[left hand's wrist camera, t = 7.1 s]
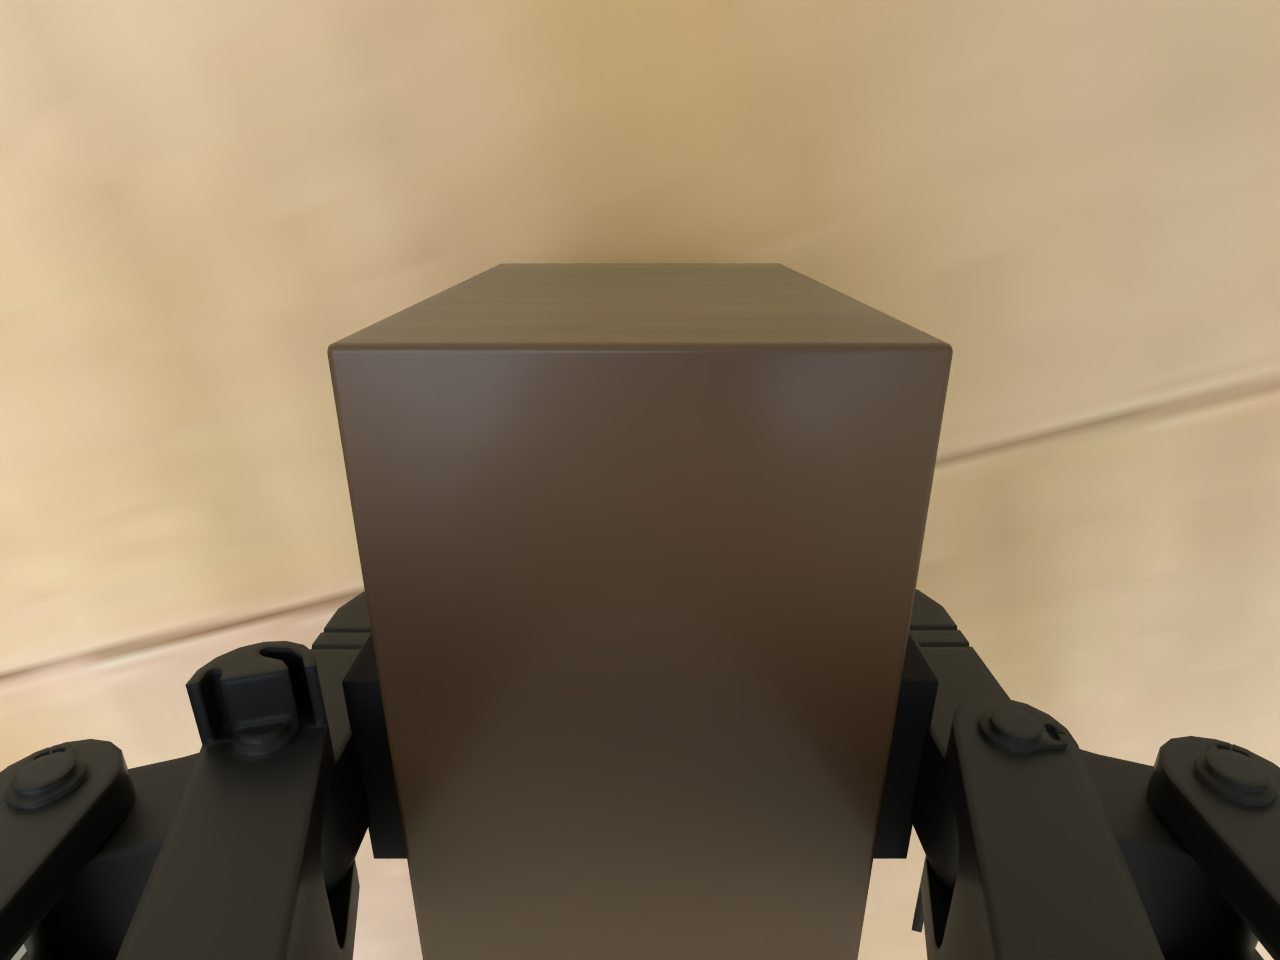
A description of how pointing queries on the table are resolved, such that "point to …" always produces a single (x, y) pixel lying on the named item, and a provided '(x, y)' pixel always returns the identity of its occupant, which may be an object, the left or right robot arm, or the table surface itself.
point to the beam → (640, 601)
